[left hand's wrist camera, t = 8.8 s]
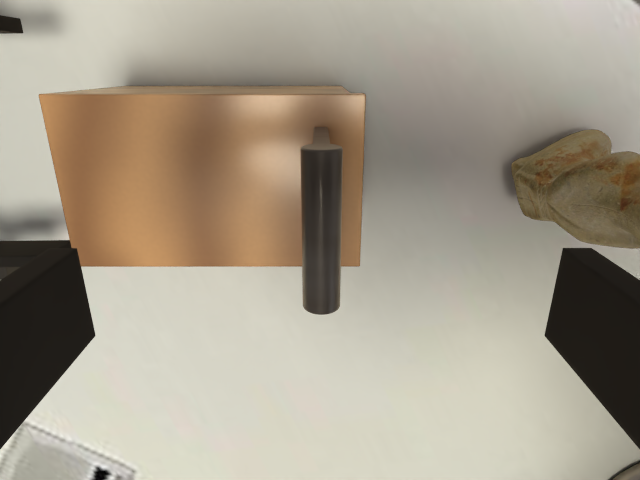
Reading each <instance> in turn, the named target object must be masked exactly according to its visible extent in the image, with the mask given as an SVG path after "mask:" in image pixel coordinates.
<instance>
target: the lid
mask: <svg viewBox="0 0 640 480" xmlns="http://www.w3.org/2000/svg"><path fill="white" fill-rule="evenodd" d="M39 99H40V103H41V108H42V113H43V117H44V122H45V127H46V131H47V136H48V141H49V145H50V150H51V155H52V159H53V164H54V169H55V173H56V178H57V183H58V187H59V192H60V196H61V201H62V206H63V210H64V215H65V220H66V224H67V229H68V234H69V238H70V243H71V248H77V251H78V255H79V260H80V265H81V266H302V280H303V307H304V308H305V310H307V311H308V312H310V313H313V314H321V315H322V314H330V313H333V312H335V311H336V310H338V308H339V306H340V276H341V266H360V246H361V217H362V189H363V160H364V132H365V103H366V95H365V94H364V93H47V94H39Z"/></svg>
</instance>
